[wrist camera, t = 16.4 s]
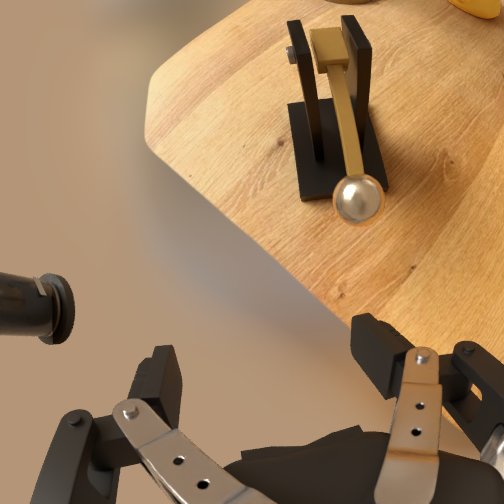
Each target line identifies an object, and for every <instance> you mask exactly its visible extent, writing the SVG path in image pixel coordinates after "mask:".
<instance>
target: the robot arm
mask: <svg viewBox="0 0 504 504" xmlns="http://www.w3.org/2000/svg"><path fill="white" fill-rule="evenodd" d="M61 319H62V300H61V296H60V293H59V290H58V288H57V287H56V285H55V284H54V283H53V282H51V281H47V280H39V278H36V277H33V278H27V277H22V276H17V275H12V274H7V273H2V272H0V335H10V336H11V335H12V336H42V337H51V336H53V335H55V334H56V332H57V331H58V329H59V327H60V324H61ZM350 346H351V352H352V355H353V357H354V359H355V360H356V361H357V363H358V364H359V365H360V367H361V368H362V369H363V371H364V372H365V373H366V375H367V376H368V377H369V378H370V380H371V381H372V383H373V384H374V385H375V386H376V388H377V389H378V390H379V392H380V393H381V395H382V396H383V397H384V399H385V400H387V399H390V398H393V397H396V398H397V401H396V405H395V410H394V414H393V418H392V423H391V426H390V430H389V433H384V432H363V431H362V429H361V427H360V426H359V425H357V426H354V427H350V428H347V429H344V430H340V431H337V432H333V433H331V434H329V435H327V436H325V437H323V438H321V439H318V440H316V441H314V442H312V443H310V444H308V445H305V446H287V447H265V448H260V449H253V450H246V451H241V456H242V459H241V460H238V461H235V462H233V463H231V464H229V465H227V466H226V467H224V468H222V467H220V466H219V465H218V464H217V463H216V462H214V461H213V460H212V459H211V458H210V457H208V456H207V455H206V454H205V453H204V452H202V450H200V449H199V448H198V447H197V446H196V445H195V444H194V443H193V442H191V441H190V440H189V439H188V438H187V437H186V436H185V435H184V434H183V433H182V432H181V431H180V430H178V424H179V414H180V404H181V395H182V376H181V372H180V368H179V365H178V361H177V358H176V354H175V350H174V347H173V346H172V345H163V346H156V347H155V349H154V352H153V355H152V358H145V359H144V360H143V361H142V362H141V363H140V364H139V366H138V369H137V371H136V375H135V377H134V380H133V383H132V386H131V389H130V392H129V395H128V398H127V400H124V401H122V402H120V403H119V404H117V405H116V406H115V408H114V409H113V412H112V415H109V416H104V417H99V418H94V419H93V417H92V415H91V414H90V413H89V412H88V411H86V410H81V409H78V410H74V411H71V412H68V413H67V414H66V415H64V416H63V418H62V419H61V421H60V423H59V426H58V428H57V430H56V433H55V435H54V438H53V440H52V442H51V445H50V447H49V450H48V453H47V455H46V458H45V461H44V463H43V466H42V469H41V471H40V474H39V477H38V480H37V483H36V486H35V489H34V492H33V495H32V498H31V501H30V504H116V497H117V488H118V482H119V475H120V468H121V467H125V466H129V465H134V464H138V463H140V464H141V465H142V467H143V468H144V469H145V470H146V472H147V473H148V474H149V476H150V477H151V478H152V479H153V480H154V482H155V483H156V484H157V485H158V486H159V488H160V489H161V490H162V491H163V492H164V493H165V495H166V496H167V497H168V498H169V500H170V501H171V502H172V503H173V504H504V365H503V364H502V363H501V362H500V361H499V360H497V359H496V358H495V357H494V356H493V355H491V354H490V353H489V352H488V351H486V350H485V349H484V348H483V347H481V346H480V345H479V344H477V343H475V342H472V341H461V342H458V343H457V344H456V345H455V346H454V350H453V353H452V354H445V355H438V354H437V352H436V351H434V350H433V349H431V348H427V347H415V346H414V345H413V344H411V343H410V342H409V341H408V340H407V339H406V338H405V337H404V336H402V335H400V333H399V332H398V331H396V329H395V328H393V327H392V326H391V325H390V324H388V323H386V322H383V321H381V320H379V321H378V320H377V319H375V318H374V317H373V316H372V315H371V314H370V313H365V314H360V315H356V316H353V317H352V323H351V344H350ZM472 384H474V385H475V386H476V387H477V388H478V389H479V390H480V391H481V393H482V401H481V400H480V399H479V398H478V397H477V396H476V395H475V394H474V393H473V392H472V391H471V387H472ZM442 405H443V406H444V408H445V409H446V410H447V411H448V413H449V414H450V415H451V416H452V418H453V419H454V420H455V421H456V423H457V424H458V425H459V426H460V428H461V429H462V430H463V431H464V433H465V434H466V435H467V436H468V438H469V439H470V440H471V441H472V443H473V444H474V445H475V446H476V448H477V449H478V451H479V452H480V453H481V454H480V460H481V461H479V460H474V459H470V458H466V457H462V456H459V455H455V454H451V453H448V452H444V451H441V450H438V447H439V438H440V427H441V412H442Z"/></svg>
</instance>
